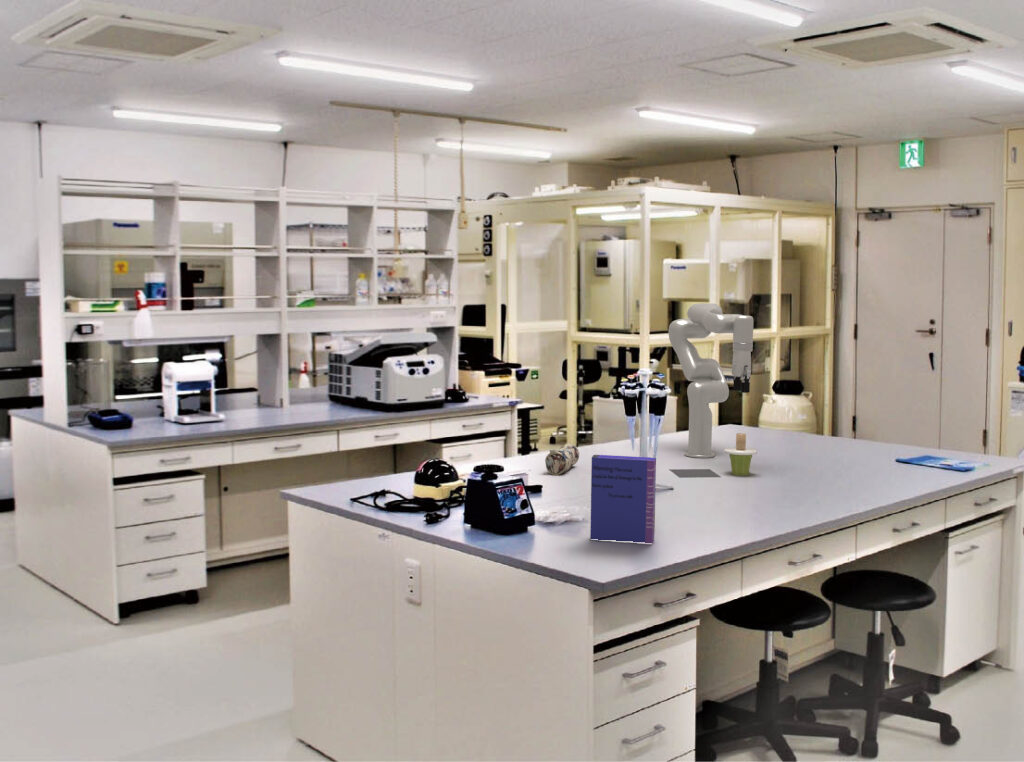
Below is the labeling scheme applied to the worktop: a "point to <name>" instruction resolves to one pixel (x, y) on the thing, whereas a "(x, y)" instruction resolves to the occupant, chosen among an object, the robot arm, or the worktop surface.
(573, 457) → the pencil case
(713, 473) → the mat
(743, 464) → the plant pot
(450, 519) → the worktop surface
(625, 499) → the blue hardcover book
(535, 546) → the worktop surface
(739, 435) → the lid
